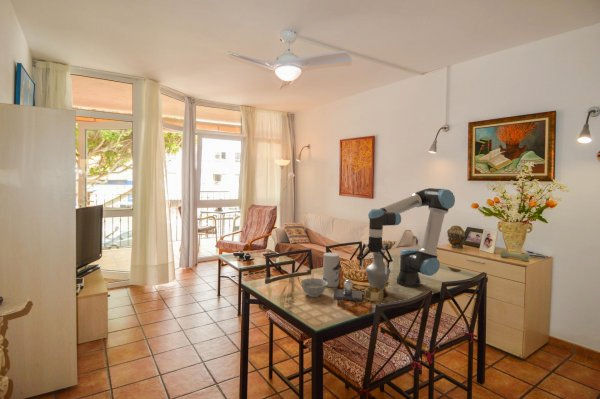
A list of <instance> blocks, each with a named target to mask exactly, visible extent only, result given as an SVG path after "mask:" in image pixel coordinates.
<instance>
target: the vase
mask: <svg viewBox="0 0 600 399" xmlns="http://www.w3.org/2000/svg"><path fill="white" fill-rule="evenodd" d="M381 251H382V252H383V253H384V254H386V253H387V252H386V250H385V249H381ZM371 253H372V255H373V260H372V262H371V263H370V264H368V265H367V266H366V268H365V273H366V276H367V281H368V284H369V287H370V286H371V287H379V288H381V289H383V290H384V289H385V288H386V285H387V282H388V280H389V277H390V273H391V270H390V267H389V268H387V274H385V264H386V263H385V262H384V257H383V256H382V255H381V253H380V252H378V253H376V252H371Z"/></svg>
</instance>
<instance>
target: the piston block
mask: <svg viewBox="0 0 600 399" xmlns="http://www.w3.org/2000/svg"><path fill="white" fill-rule="evenodd" d="M353 283H354V282H353V281H352V279H348V278H347V279H345V280H344V281H343V289H337V288H335V289H334V291H333V300H345V301H355V302H356V301H358V302H359V301H360V302H363V295H362V291H361V290H353Z"/></svg>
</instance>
